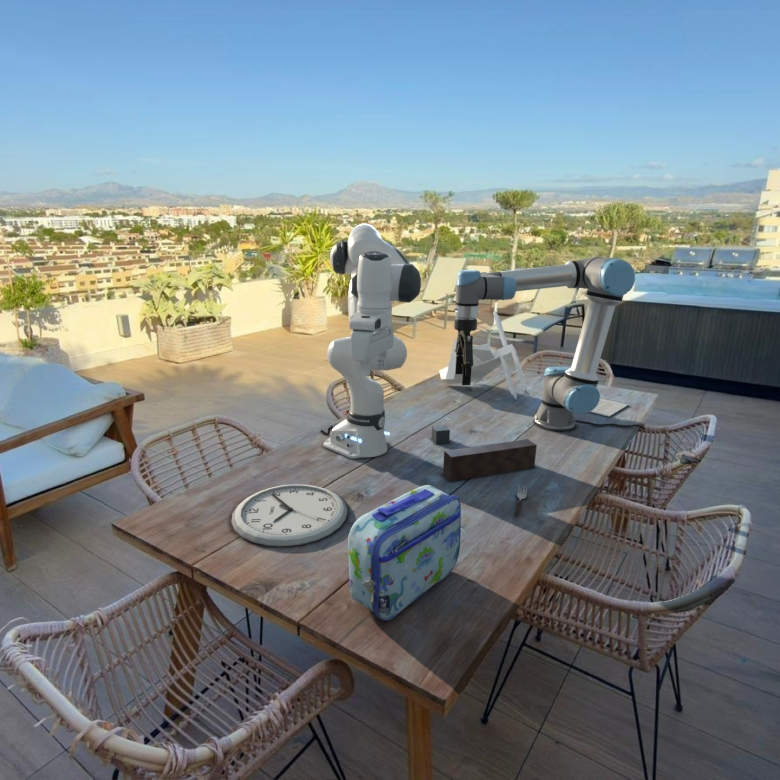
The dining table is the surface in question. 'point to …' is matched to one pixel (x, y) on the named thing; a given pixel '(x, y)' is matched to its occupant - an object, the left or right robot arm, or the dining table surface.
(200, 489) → the dining table surface
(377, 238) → the left robot arm
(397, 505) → the lunch box
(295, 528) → the wall clock
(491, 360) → the white plastic object
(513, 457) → the plank
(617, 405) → the invitation card
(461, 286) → the right robot arm
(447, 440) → the slate block
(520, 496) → the fork
